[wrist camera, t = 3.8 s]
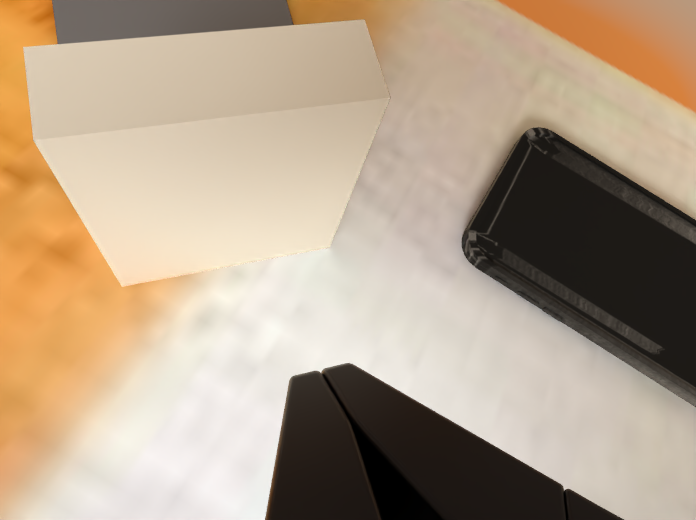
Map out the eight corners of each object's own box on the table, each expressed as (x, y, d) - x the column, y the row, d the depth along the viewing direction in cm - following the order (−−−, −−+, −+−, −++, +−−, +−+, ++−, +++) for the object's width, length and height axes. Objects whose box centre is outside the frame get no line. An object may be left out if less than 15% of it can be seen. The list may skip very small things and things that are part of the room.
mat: (332, 172, 24) (334, 167, 24) (81, 209, 22) (79, 205, 21) (276, -27, 28) (276, -34, 27) (51, -15, 25) (49, -22, 25)
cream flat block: (329, 248, 23) (390, 97, 14) (121, 286, 21) (33, 140, 12) (313, 189, 24) (361, 10, 15) (112, 220, 22) (22, 36, 13)
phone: (531, 118, 26) (816, 294, 26) (520, 132, 27) (794, 301, 27) (457, 247, 23) (779, 451, 23) (448, 257, 24) (755, 452, 24)
